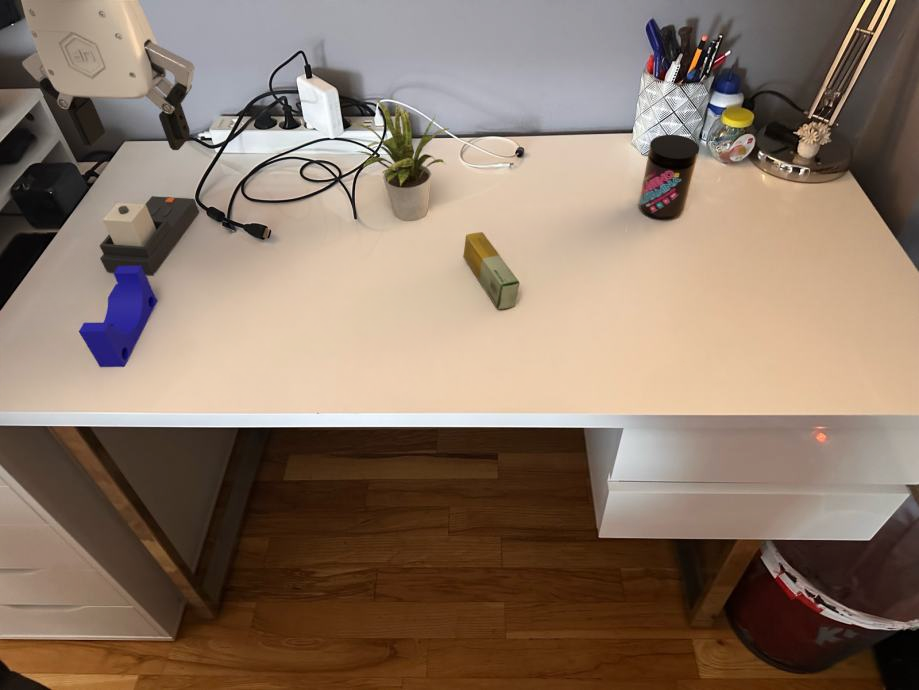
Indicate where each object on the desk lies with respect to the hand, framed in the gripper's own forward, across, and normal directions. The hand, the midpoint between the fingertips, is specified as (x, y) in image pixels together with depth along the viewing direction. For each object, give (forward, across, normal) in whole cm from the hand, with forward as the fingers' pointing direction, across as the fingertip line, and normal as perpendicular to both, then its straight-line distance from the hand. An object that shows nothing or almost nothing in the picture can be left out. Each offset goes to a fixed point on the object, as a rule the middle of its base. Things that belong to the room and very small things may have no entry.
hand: (137, 141), depth 71 cm
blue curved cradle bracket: (+24, -9, -5) cm, 27 cm away
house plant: (+24, +21, +26) cm, 41 cm away
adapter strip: (+24, -14, +14) cm, 31 cm away
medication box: (+24, +36, +10) cm, 45 cm away
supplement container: (+24, +60, +30) cm, 71 cm away
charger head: (+22, -14, +10) cm, 28 cm away
